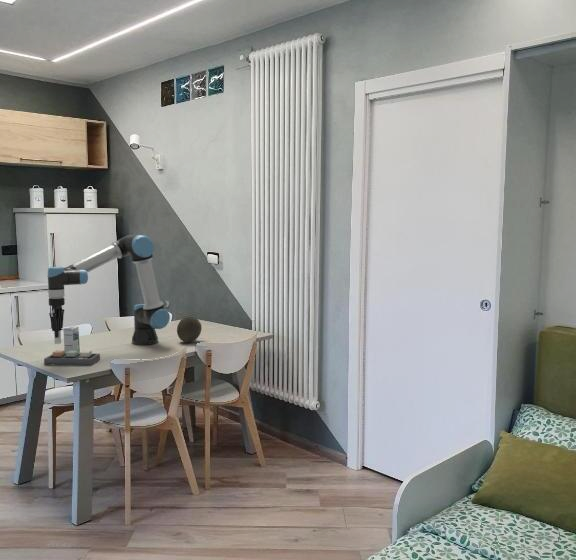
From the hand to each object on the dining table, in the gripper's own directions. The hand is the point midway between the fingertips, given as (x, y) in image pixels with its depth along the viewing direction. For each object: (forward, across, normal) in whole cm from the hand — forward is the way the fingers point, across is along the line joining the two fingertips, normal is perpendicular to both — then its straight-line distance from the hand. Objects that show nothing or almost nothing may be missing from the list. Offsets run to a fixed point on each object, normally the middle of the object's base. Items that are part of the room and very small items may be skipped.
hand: (57, 343), depth 301 cm
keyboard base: (+10, 0, +7) cm, 12 cm away
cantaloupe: (+9, -50, +57) cm, 77 cm away
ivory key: (+6, 0, +14) cm, 16 cm away
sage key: (+6, 0, +7) cm, 10 cm away
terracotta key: (+6, 0, 0) cm, 6 cm away
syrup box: (+10, -19, -1) cm, 22 cm away
